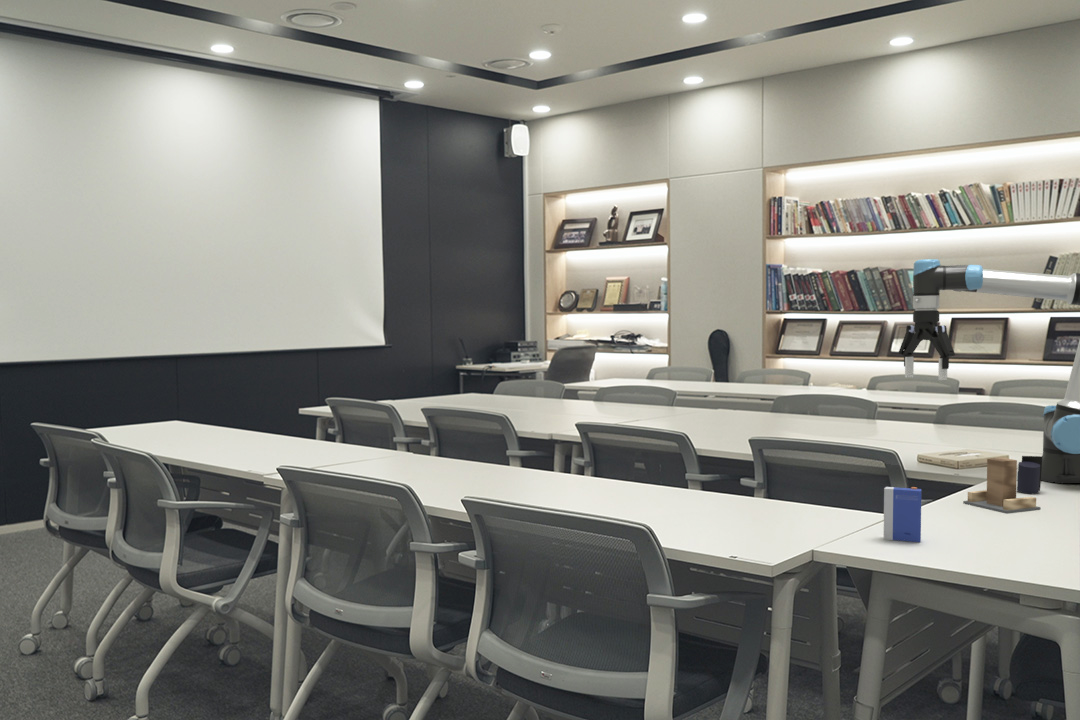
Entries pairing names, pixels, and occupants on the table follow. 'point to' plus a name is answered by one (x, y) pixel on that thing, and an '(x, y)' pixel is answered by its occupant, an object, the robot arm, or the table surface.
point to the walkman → (902, 514)
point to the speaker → (1029, 474)
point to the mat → (998, 507)
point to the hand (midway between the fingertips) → (925, 378)
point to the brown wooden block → (1001, 480)
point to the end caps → (1007, 503)
